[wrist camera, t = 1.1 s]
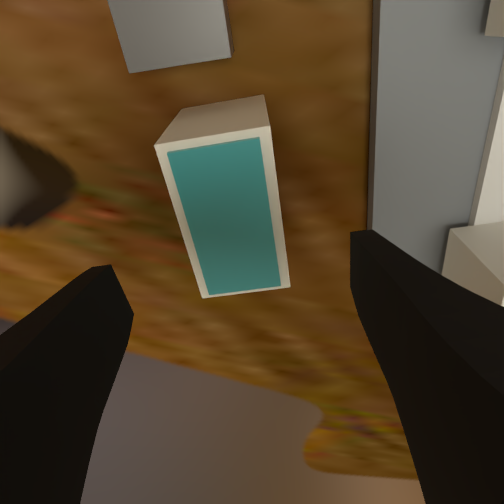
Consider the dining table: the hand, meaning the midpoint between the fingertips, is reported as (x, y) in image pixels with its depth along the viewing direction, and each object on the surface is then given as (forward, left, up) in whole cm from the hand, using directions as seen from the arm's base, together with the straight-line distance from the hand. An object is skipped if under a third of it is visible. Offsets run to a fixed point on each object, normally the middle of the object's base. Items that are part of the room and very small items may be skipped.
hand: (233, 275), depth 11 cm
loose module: (0, 0, -10) cm, 10 cm away
